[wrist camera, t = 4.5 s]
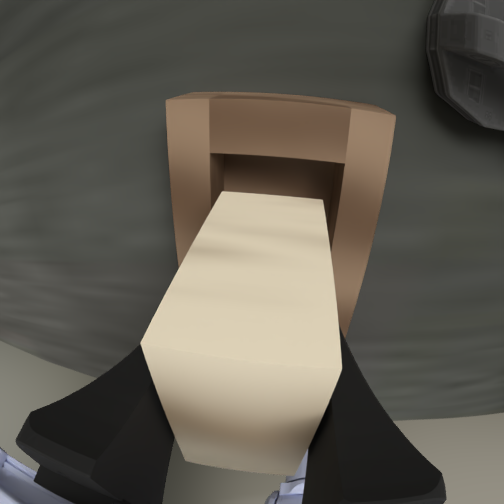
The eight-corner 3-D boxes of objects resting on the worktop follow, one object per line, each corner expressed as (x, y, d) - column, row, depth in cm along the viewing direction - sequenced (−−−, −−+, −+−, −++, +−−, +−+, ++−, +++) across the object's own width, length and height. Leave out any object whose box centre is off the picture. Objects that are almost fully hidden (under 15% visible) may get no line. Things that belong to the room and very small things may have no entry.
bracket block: (302, 327, 16) (294, 476, 9) (225, 318, 17) (185, 461, 10) (322, 199, 12) (342, 369, 6) (221, 191, 13) (140, 343, 6)
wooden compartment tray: (314, 388, 29) (313, 424, 25) (211, 377, 30) (202, 411, 26) (375, 105, 15) (395, 116, 12) (192, 92, 16) (165, 100, 13)
